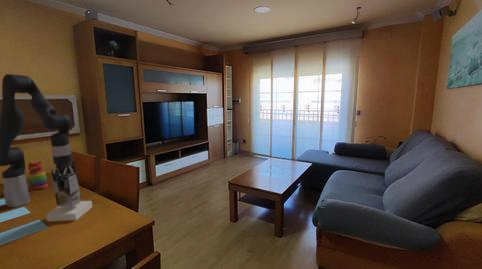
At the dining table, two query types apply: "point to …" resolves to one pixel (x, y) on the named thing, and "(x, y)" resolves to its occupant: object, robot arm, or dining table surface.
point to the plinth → (69, 212)
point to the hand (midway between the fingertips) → (66, 184)
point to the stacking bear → (36, 177)
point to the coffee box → (68, 191)
